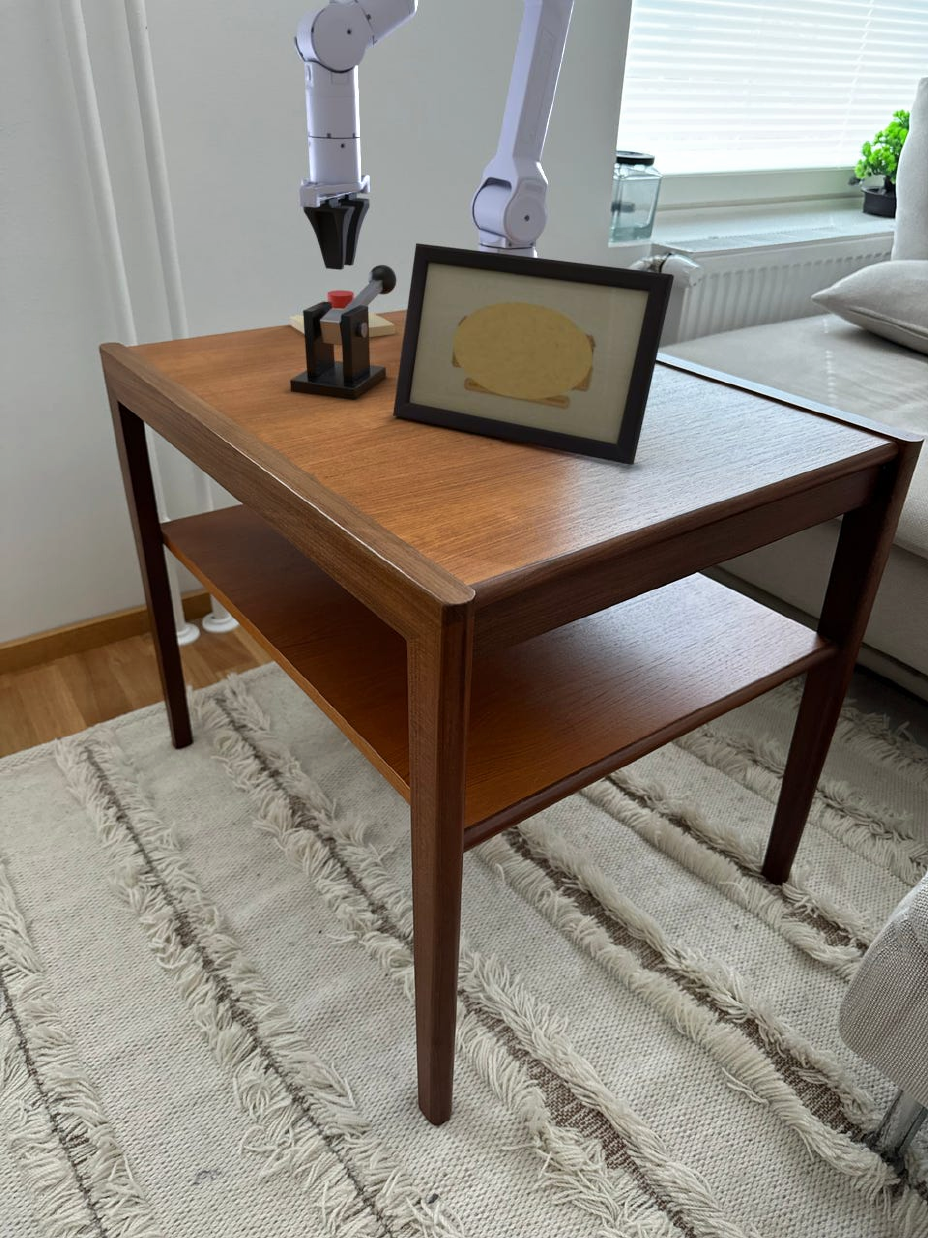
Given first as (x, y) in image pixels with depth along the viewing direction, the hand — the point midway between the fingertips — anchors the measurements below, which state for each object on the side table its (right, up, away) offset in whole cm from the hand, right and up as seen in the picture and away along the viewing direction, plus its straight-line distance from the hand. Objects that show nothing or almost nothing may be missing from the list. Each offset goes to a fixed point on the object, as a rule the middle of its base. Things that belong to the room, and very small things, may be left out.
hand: (339, 266), depth 106 cm
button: (0, -4, +3) cm, 5 cm away
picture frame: (+20, -24, -24) cm, 40 cm away
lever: (+4, -10, -12) cm, 17 cm away
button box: (0, -6, +4) cm, 7 cm away
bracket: (+2, -18, -15) cm, 23 cm away
